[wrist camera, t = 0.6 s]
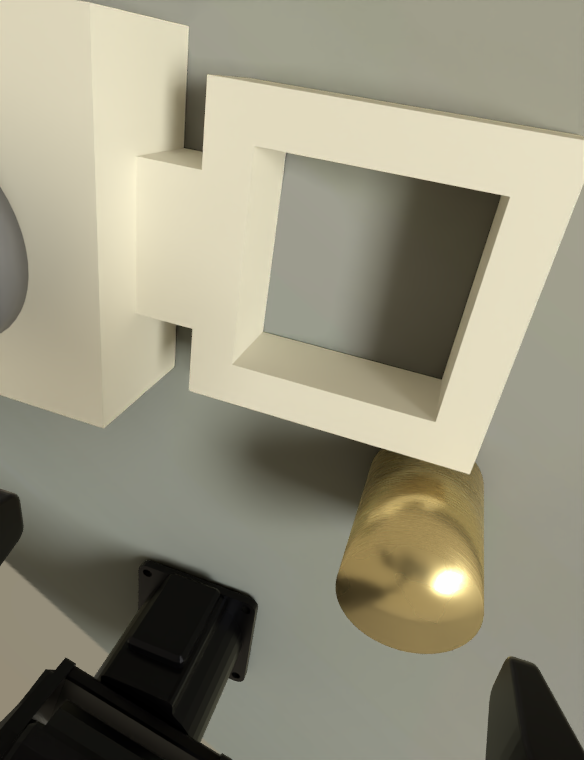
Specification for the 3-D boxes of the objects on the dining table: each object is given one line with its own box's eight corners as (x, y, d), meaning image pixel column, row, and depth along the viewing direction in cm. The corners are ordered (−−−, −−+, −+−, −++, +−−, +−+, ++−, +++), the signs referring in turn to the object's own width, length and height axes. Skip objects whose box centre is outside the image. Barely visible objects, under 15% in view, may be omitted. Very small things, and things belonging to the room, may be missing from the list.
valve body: (462, 450, 20) (452, 612, 14) (11, 319, 24) (-160, 399, 18) (596, 90, 15) (687, 85, 8) (-28, -8, 18) (-306, -65, 12)
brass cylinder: (464, 540, 22) (458, 672, 17) (359, 507, 23) (324, 622, 18) (499, 455, 20) (505, 576, 15) (382, 421, 21) (350, 526, 16)
